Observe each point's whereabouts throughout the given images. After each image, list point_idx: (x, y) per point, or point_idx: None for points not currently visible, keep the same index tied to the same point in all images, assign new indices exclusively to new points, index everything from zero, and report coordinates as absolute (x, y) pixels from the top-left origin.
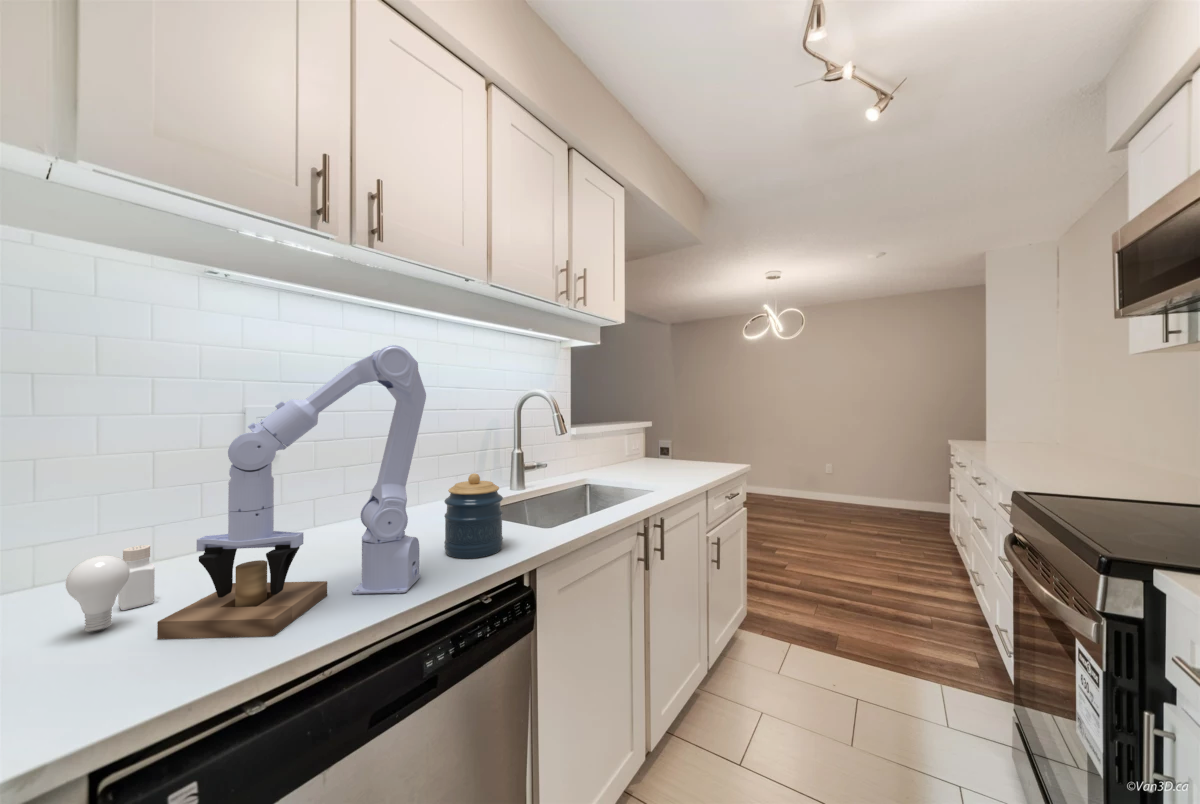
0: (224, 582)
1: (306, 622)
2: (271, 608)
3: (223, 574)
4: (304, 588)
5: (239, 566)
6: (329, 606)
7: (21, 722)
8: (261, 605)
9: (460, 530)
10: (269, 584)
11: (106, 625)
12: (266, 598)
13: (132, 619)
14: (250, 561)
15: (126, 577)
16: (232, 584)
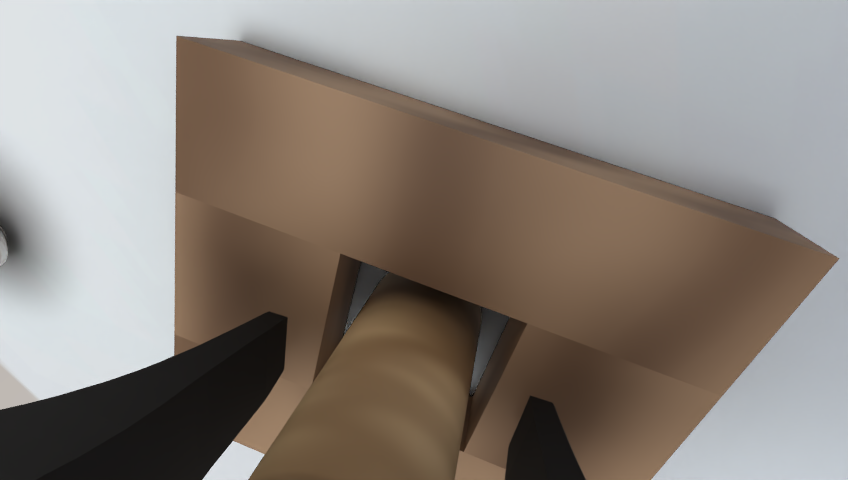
0: (238, 407)
1: (663, 473)
2: None
3: (199, 452)
4: (667, 332)
5: None
6: (772, 371)
7: None
8: (479, 448)
9: None
10: (424, 159)
11: (2, 254)
12: (473, 360)
13: (14, 167)
14: (280, 477)
15: None
16: (265, 332)
